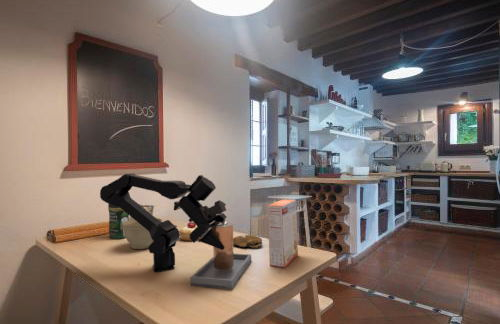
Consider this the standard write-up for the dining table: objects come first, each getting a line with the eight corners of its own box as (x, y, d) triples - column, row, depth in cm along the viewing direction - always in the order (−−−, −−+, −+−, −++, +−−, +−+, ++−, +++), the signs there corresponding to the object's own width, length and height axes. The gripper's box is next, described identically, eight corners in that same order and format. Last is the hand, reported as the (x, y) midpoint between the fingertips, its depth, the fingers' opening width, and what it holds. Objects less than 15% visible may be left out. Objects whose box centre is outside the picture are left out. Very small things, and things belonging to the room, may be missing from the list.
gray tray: (190, 285, 81) (190, 277, 81) (218, 259, 102) (217, 252, 102) (232, 289, 78) (231, 280, 78) (251, 261, 99) (251, 254, 99)
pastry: (179, 237, 136) (178, 219, 136) (204, 234, 139) (203, 216, 139) (180, 243, 124) (179, 223, 124) (206, 240, 127) (205, 220, 127)
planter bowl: (164, 248, 117) (163, 222, 117) (122, 254, 111) (121, 227, 111) (161, 239, 132) (160, 216, 132) (124, 243, 126) (123, 219, 126)
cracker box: (283, 253, 107) (282, 198, 107) (298, 255, 104) (297, 199, 104) (268, 265, 95) (266, 204, 95) (284, 268, 92) (283, 205, 92)
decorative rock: (270, 245, 119) (242, 241, 128) (270, 236, 120) (242, 232, 128) (254, 251, 110) (226, 246, 119) (254, 241, 110) (225, 237, 119)
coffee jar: (106, 237, 136) (105, 199, 136) (120, 234, 143) (119, 197, 143) (118, 240, 131) (117, 201, 131) (132, 236, 138) (131, 198, 138)
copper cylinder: (216, 270, 86) (216, 225, 86) (211, 263, 92) (210, 221, 92) (236, 267, 89) (235, 223, 88) (229, 260, 94) (229, 219, 94)
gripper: (198, 197, 82) (235, 236, 79) (220, 190, 100) (251, 222, 97) (174, 223, 84) (209, 262, 81) (200, 211, 102) (230, 243, 99)
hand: (227, 245), depth 90 cm, fingers closed on copper cylinder, 6 cm apart
